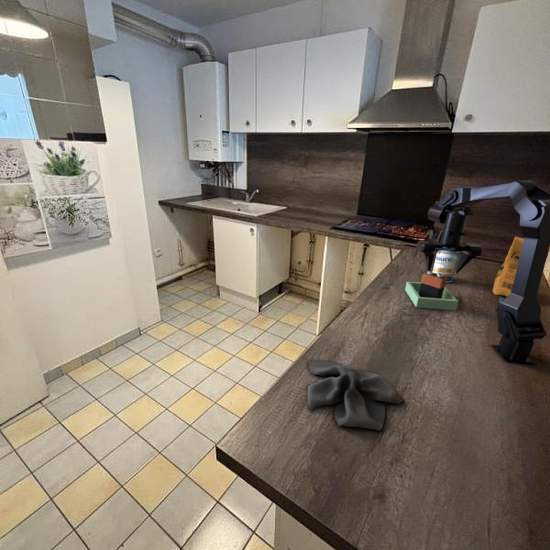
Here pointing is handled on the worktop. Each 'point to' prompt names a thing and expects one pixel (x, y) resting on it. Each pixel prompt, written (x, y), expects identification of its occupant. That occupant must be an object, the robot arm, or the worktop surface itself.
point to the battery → (432, 285)
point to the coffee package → (509, 269)
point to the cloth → (352, 394)
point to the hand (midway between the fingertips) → (442, 271)
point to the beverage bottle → (446, 263)
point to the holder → (434, 303)
